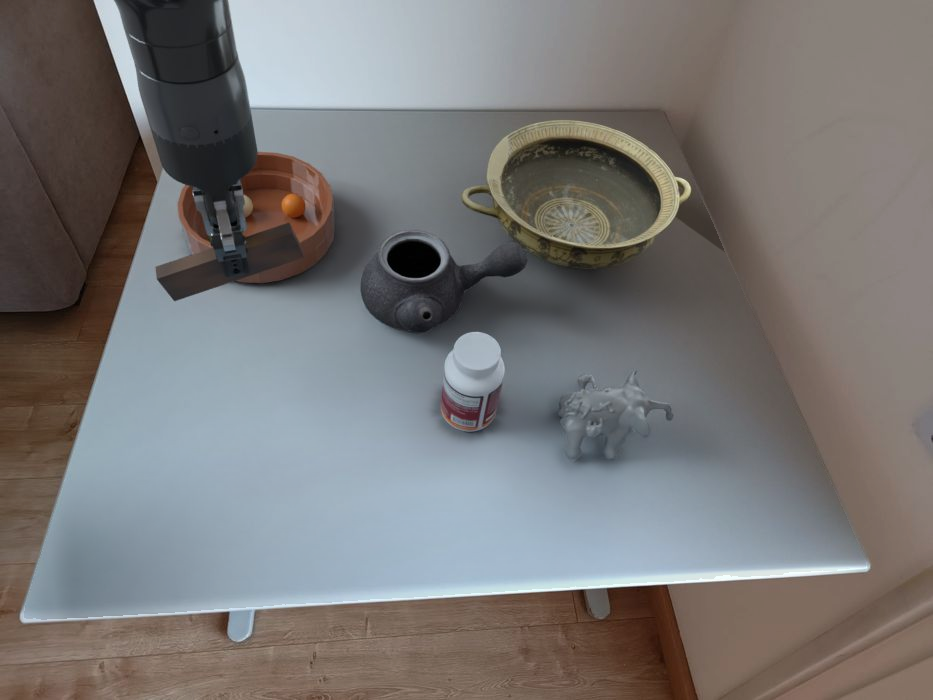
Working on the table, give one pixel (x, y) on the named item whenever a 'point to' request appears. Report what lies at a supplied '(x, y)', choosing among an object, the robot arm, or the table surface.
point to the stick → (208, 271)
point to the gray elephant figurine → (606, 414)
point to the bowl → (274, 211)
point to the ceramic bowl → (579, 193)
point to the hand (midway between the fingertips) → (235, 265)
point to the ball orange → (293, 205)
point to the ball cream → (247, 206)
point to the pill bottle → (472, 382)
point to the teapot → (426, 279)
